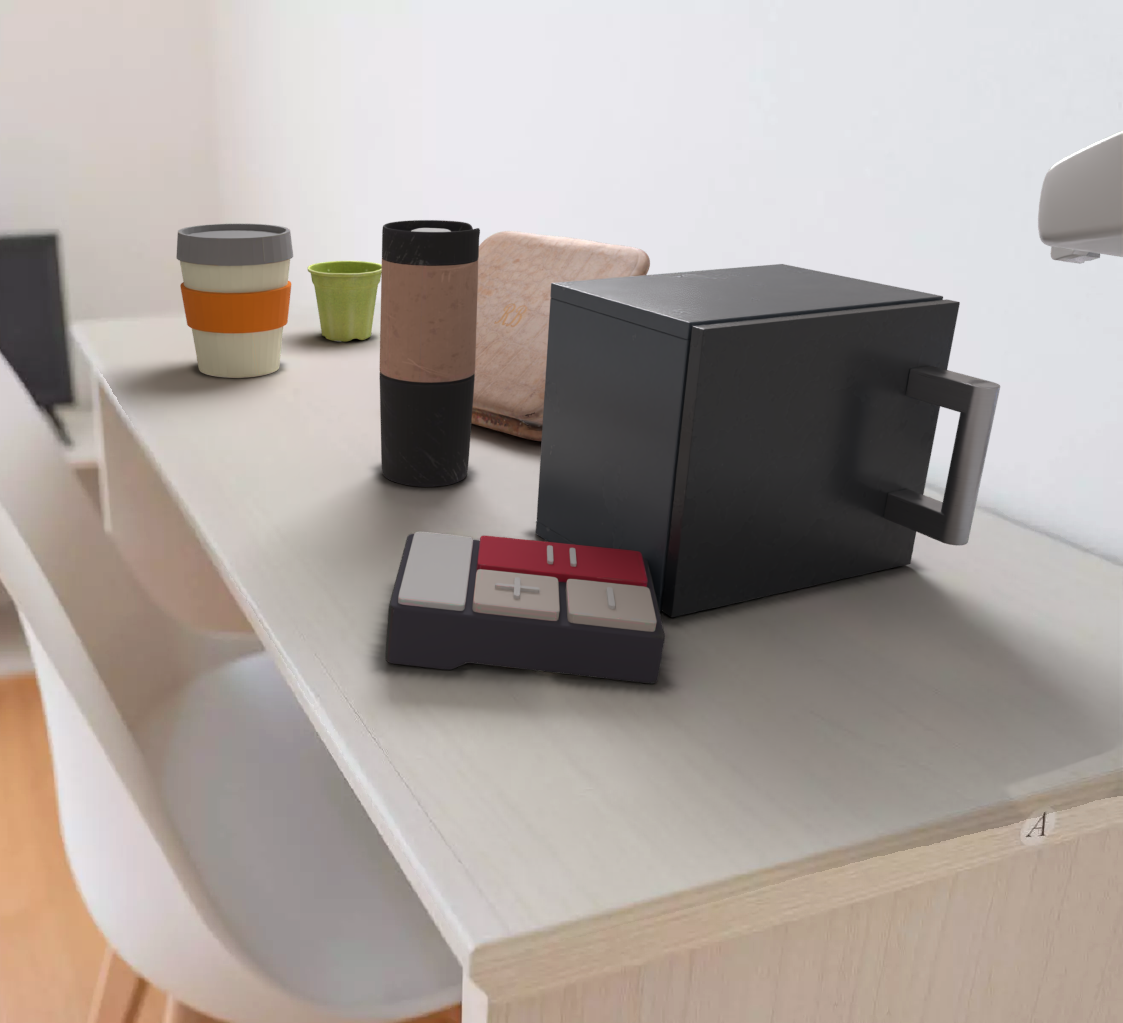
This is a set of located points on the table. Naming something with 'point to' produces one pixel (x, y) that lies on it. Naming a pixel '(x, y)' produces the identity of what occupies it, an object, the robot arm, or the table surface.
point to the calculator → (524, 607)
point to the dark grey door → (818, 451)
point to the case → (528, 318)
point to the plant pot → (346, 297)
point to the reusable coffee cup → (236, 295)
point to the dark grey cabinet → (648, 390)
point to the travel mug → (427, 350)
